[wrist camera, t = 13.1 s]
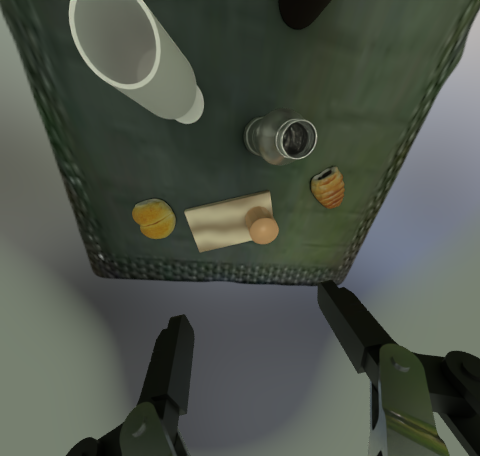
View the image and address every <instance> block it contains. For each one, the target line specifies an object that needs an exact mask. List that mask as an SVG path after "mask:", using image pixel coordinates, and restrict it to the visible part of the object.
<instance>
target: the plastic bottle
mask: <svg viewBox="0 0 480 456" xmlns="http://www.w3.org/2000/svg"><path fill="white" fill-rule="evenodd" d="M243 138H244V143H245V146H246V148H247V149H248V150H249V151H250V152H251V153H252V154H254V155H257V156H261V157H262V158H263V159H264V160H265V161H267V162H268V163H270V164H273V165H286V164H289V163H291V162H293V161H295V160H296V159H302V158H305V157H306V156H308V155H309V154H310V153H311V152H312V151H313V149H314V148H315V145H316V143H317V131H316V129H315V127H314V125H313V124H312V123H311V122H309V121H307V120H304V118H303V117H302V116H301V115H300V114H299V113H297V112H296V111H294V110H292V109H289V108H279V109H275V110H273V111H271V112H270V113H268V114H267V115H265V116H259V117H256V118H254V119H252V120H251V121H250V122H249V123H248V124H247V126H246V127H245V130H244V136H243Z"/></svg>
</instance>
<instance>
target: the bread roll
mask: <svg viewBox="0 0 480 456" xmlns="http://www.w3.org/2000/svg"><path fill="white" fill-rule="evenodd" d="M132 216H133V219H134V220H135V221H136V222H137V223H138V224H140V229H141V232H142V233H143V234H144V235H145V236H147V237H149V238H154V239H161V238H165V237H167V236H168V235H170V234H171V232H172V231H173V230H174V227H175V224H176V217H175V215H174V213H173V211H172V209H171V208H170V206H169V205H168V204H167V203H165V202H164V201H162V200H159V199H149V200H146V201H143V202H140V203H138V204H136V205H135V208H134V209H133V212H132Z"/></svg>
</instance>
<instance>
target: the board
mask: <svg viewBox="0 0 480 456" xmlns="http://www.w3.org/2000/svg"><path fill="white" fill-rule="evenodd" d="M257 206H261V207H264V208H266V209H267V210H268V211H269V212H270V214H271V215H272V217H273V212H272V204H271V197H270V192H269V190H267V191H262V192H258V193H254V194H250V195H245V196H241V197H237V198H232V199H228V200H224V201H219V202H215V203H211V204H206V205H202V206H198V207H194V208H189V209H185V211H184V213H185V215H186V218H187V220H188V223H189V226H190V228H191V231H192V233H193V236H194V239H195V241H196V244H197V247H198V249H199V252H204V251H208V250H212V249H217V248H221V247H225V246H229V245H234V244H238V243H242V242H247V241H251V240H252V239H251V237H250V235H249V231H248V228H247V225H246V220H245V217H246V214H247V212H248V211H249V210H250V209H252V208H253V207H257Z"/></svg>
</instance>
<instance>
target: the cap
mask: <svg viewBox="0 0 480 456" xmlns="http://www.w3.org/2000/svg"><path fill="white" fill-rule="evenodd" d="M245 220H246V225H247V228H248V231H249V235H250V237H251V239H252V240H253V241H254V242H256V243H258V244H267V243H270V242H272V241H273V240H274V239H275V238H276V237H277V235H278V231H279V229H278V225H277V223H276V221H275V220H274V218H273V217H272V215H271V214H270V212H269V211H268V210H267V209H266V208H264V207H261V206H257V207H253V208H252V209H250V210H249V211H248V212H247V214H246V217H245Z"/></svg>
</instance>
